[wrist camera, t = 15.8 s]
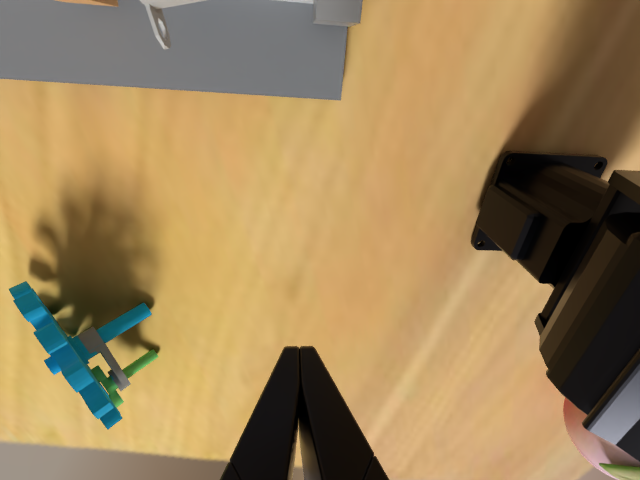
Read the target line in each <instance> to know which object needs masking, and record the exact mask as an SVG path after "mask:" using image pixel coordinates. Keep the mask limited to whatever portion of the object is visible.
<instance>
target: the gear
mask: <svg viewBox="0 0 640 480" xmlns="http://www.w3.org/2000/svg"><path fill="white" fill-rule="evenodd" d="M9 291H10V293H11V294H12V296H13V297H14V299H15V300H13V301H14V303H15V304H16V306H17V307H18V309H19V310H20V312H21V313H22V315H23V316H24V317H25V319H26V320H27V321H28V322H29V321H30V322H31V323H32V325H33V326H34V327H35V329H36V330H37V331H35V332H34V335H35V336H36V337H37V339H38V340H39V342H40V343H41V345H42V346H43V347H44V349H45V350H46V351H47V353H48V354H50V355H51V357H49V358H48V359H46V360H44V362H45V363H46V365H47V367H48V368H49V369H50V371H51V372H52V373H53V374H54V375H55V374H56V373H58V372H60V371H61V372H62V374H63V376H64V377H65V379H66V380H67V381H68V383H69V384H70V385H71V386H72V388H73V389H74V390H75V391H76V393H77V392H79V393H80V394H81V396H82V398H83V399H84V401H85V403H86V404H87V406H88V408H89V409H90V411H91V412H92V413H93V415H94V416H95V417H96V418H97V419H99V418H100V420H101V421H102V423H103V424H104V425H105V427H106V428H107V429H109V428H110V427H112V426H113V425H114V424H116V423H117V422H118V421H120V420H121V419H122V417H121V414H120V412H119V411H118V409H117V408H116V407H118V406H119V405H121V404H122V403H123V402H124V401H123V400H122V399H121V397H120V396H119V394H118V393H117V391H116V389H117V388H119V389H120V391H122V390H123V389H124V388H126V387H127V386H129V385H130V382H129V381H128V378H129V377H131V376H132V375H133V374H135V373H136V372H138V371H139V370H140V369H142V368H143V367H145V366H146V365H148V364H149V363H150V362H152V361H153V360H155V359H156V358H157V357H158V355H157V354H156V352H155V351H154V350H153V349H152V350H151V351H149V352H148V353H146V354H145V355H143V356H142V357H140V358H139V359H138V360H136V361H135V362H133V363H132V364H130V365H129V366H127V367H126V368H124V369H123V370H121V368H120V366H119V365H118V363H117V362H116V360H115V358H114V357H113V355H112V354H111V352H110V351H109V349H108V347H107V346H106V344H105V343H107V342H108V341H110V340H112V339H113V338H115V337H116V336H118V335H120V334H121V333H123V332H124V331H126V330H128V329H129V328H131V327H133V326H134V325H136V324H137V323H139V322H141V321H142V320H144V319H146V318H147V317H149V316H150V315H152V314H151V312H150V310H149V308H148V307H147V306H146V304H145V303H142V304H140V305H138V306H136V307H135V308H133V309H131V310H130V311H128V312H126V313H125V314H123V315H121V316H119V317H118V318H116V319H114V320H113V321H111V322H109V323H107V324H106V325H104V326H102V327H101V328H99V329H97V330H95V328H94V327H91V328H89V329H87V330H86V331H84V332H82V333H80V334H79V335H77V336H75V337H74V338H72V337H71V336H69V337H68V336H67V335H66V333H65V332H64V331H63V330H62V329H61V327H60V326H59V324H58V323H57V321H56V320H55V318H54V317H53V315H52V314H51V313H50V311H49V310H48V308H47V307H46V306H45V305H44V304H43V302H42V301H41V300H40V298H39V297H38V295H37V294H36V292H35V291H34V290H33V289H32V288H31V287H30V286H29V284H28V283H27V282H23V283H21V284H19V285H17V286H14V287H12V288H10V289H9ZM98 353H101V354H102V356H103V357H104V359H105V360H106V362H107V363H108V365H109V366H110V368H111V369H112V370H110V371H109V372H108V374H109V375H110V376H109V377H108V378H107V377H106V376H105V374H104V373H103V371H102V370H101V369H100V367H99V366H96V367H94V368H93V369H90V368H89V366H88V365H87V364H88V363H89V362H88V360H89V359H90V358H92V357H93V356H95V355H97V354H98ZM100 382H101V383H102V384H103V386H104V387H105V389H106V390H107V392H108V393H109V395H108V394H107V392H106V391H105V389H104V388H103V387H102V385H101V384H100Z"/></svg>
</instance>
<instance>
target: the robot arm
mask: <svg viewBox="0 0 640 480" xmlns="http://www.w3.org/2000/svg"><path fill="white" fill-rule="evenodd" d="M511 157H512V158H511ZM509 158H511V161H510V162H509V163H507V160H508V159H509ZM596 163H597V165H596V166H595V164H596ZM606 165H607V160H606V158H603V157H601V156H597V155H579V154H559V153H540V152H521V151H507V152H505V153H503V154H502V155H501V156H500V158H499V161H498V164H497V167H496V170H495V173H494V175H493V178H492V181H491V184H490V187H489V188H488V190H487V192H486V195H485V198H484V201H483V204H482V207H481V210H480V213H479V216H478V219H477V222H476V224H477V225H476V228H475V231H474V234H473V237H472V240H471V244H472V246H473V247H474V248H475V249H476V250H497V251H504V252H505V253H506V254H507V255H508V256H509V257H510V258H511V259H512V260H516V261H517V262H518V263H520V264H521V265H522V266H523V267H524V268H525V269H526V270H527V271H528V272H529V273H530V274H531V275H532V276H533V277H534V278H535V279H536V280H537V281H538V282H539V283H542V284H549V285H550V286H551V287H553V288H554V290H553V292H552V294H551V296H550V298H549V299H548V301H547V303H546V305H545V307H544V309H543V311H542V313H539V314H538V315H537V317H536V319H535V325H536V327H537V330H538V332H539V335H540V345H539V350H540V352H541V354H542V357H543V359H544V361H545V364H546V366H547V367H548V370H547V371H546V375H547V377H548V378H549V379H550V381H551V382H552V383H553V384H554V385H555V387H556V388H557V389H558V390H559V391H560V393H561V394H562V395H563V396H565V397H566V398H567V399H568V400H569V401H570V402H571V403H572V404H573V405H574V406H575V407H577V408H578V409H579V410H581V411H582V412H583V413H585V414H586V415H587V416H586V418H585V419H584V420H583V422H582V425H583V427H584V428H585V429H586V430H588V431H590V432H592V433H593V434H595V435H597V436H599V437H601V438H603V439H605V440H607V441H609V442H611V443H612V444H614V445H616V446H617V447H619V448H620V449H622V450H623V451H625V452H626V453H628V454H629V455H630V456H632V457H633V458H635V459H636V460H638V461H639V462H640V171H626V170H614V171H613V173H612V175H611V177H610V179H609V181H608V182H607V181H605V180H603V179H600V177H601V175H602V173H603V172H604V170H605V168H606ZM594 166H595V167H594ZM481 240H482V242H481V243H479V244H478V242H479V241H481ZM298 425H299V438H300V447H301V455H302V464H303V472H304V480H389V478H388V477H387V475H386V473H385V472H384V470H383V468H382V466H381V465H380V463H379V461H378V459H377V457H376V456H374V452H373V451H372V449H371V447H370V445H369V443H368V442H367V440H366V438H365V436H364V435H363V433H362V431H361V429H360V427H359V426H358V424H357V422H356V420H355V418H354V417H353V415H352V413H351V411H350V410H349V408H348V406H347V404H346V402H345V401H344V399H343V397H342V395H341V394H340V392H339V390H338V388H337V386H336V385H335V383H334V381H333V379H332V378H331V376H330V374H329V372H328V370H327V369H326V367H325V365H324V363H323V361H322V360H321V358H320V356H319V354H318V353H317V351H316V349H315V348H314V347H313V346H301V347H300V348H299V347H297V346H286V347H284V349H283V351H282V353H281V355H280V357H279V359H278V361H277V363H276V365H275V367H274V369H273V371H272V373H271V375H270V378H269V380H268V382H267V384H266V386H265V388H264V390H263V392H262V394H261V396H260V398H259V400H258V402H257V404H256V406H255V409H254V411H253V413H252V415H251V417H250V419H249V421H248V423H247V425H246V427H245V429H244V431H243V433H242V435H241V437H240V440H239V442H238V444H237V446H236V448H235V450H234V452H233V454H232V456H231V458H230V462H229V463H228V464H227V466H226V468H225V470H224V472H223V475H222V476H221V479H220V480H292V479H293V470H294V461H295V452H296V443H297V433H298Z"/></svg>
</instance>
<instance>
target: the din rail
mask: <svg viewBox="0 0 640 480" xmlns="http://www.w3.org/2000/svg"><path fill="white" fill-rule="evenodd" d="M117 1H118V6H119V7H115V6H103V5H91V4H80V3H68V2H61V1H56V0H0V79H14V80H30V81H46V82H61V83H77V84H93V85H108V86H124V87H140V88H155V89H171V90H187V91H202V92H218V93H234V94H249V95H265V96H281V97H296V98H312V99H328V100H341V92H342V82H343V71H344V60H345V49H346V38H347V27H351V26H354V25H356V24H359V23H360V20H361V10H362V1H363V0H206V1H200V2H195V3H189V4H184V5H178V6H173V7H167V8H162V11H163V15H164V18H165V22H166V25H167V28H168V32H169V35H170V42H171V47H170V48H169V49H163V47H162V46H161V44H160V43H159V41H158V40H157V38H156V37H155V34H154V31H153V28H152V25H151V22H150V19H149V16H148V13H147V10H146V7H145V5H144V4H142V3H141V1H140V0H117ZM158 27H159V29H160V31H161V34H162V36H163V32H162V29H161V27H160V25H159V22H158ZM163 38H164V37H163Z"/></svg>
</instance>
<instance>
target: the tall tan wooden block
mask: <svg viewBox="0 0 640 480" xmlns="http://www.w3.org/2000/svg"><path fill="white" fill-rule="evenodd" d="M56 1H61V2H68V3H80V4H91V5H103V6H115V7H119V6H118V1H117V0H56Z"/></svg>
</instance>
